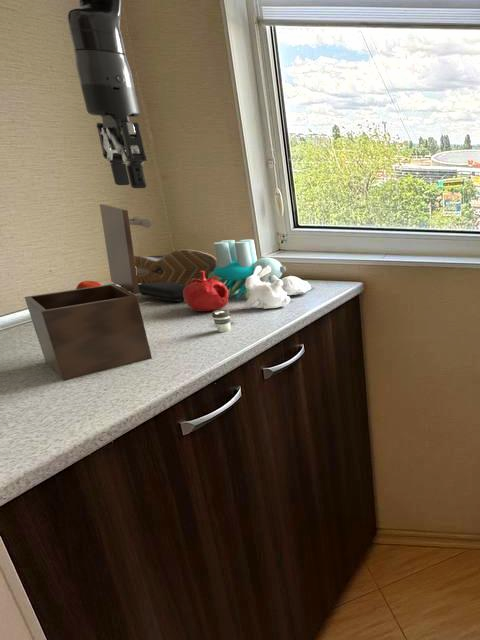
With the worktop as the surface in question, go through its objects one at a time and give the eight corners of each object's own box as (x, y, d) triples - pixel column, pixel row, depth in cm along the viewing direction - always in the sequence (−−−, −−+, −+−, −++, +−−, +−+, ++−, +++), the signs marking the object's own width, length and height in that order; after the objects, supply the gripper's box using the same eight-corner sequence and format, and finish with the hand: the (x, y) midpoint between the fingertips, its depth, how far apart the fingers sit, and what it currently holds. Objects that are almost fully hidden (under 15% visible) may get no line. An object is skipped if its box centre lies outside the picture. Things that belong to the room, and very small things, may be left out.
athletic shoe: (201, 247, 139) (231, 245, 150) (115, 254, 145) (149, 251, 156) (210, 288, 142) (238, 283, 153) (125, 293, 148) (158, 287, 159)
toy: (290, 237, 141) (297, 291, 146) (208, 238, 139) (218, 293, 144) (278, 243, 130) (286, 301, 135) (189, 245, 128) (200, 303, 133)
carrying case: (170, 279, 143) (209, 286, 138) (171, 290, 144) (210, 297, 139) (133, 283, 134) (172, 290, 129) (134, 295, 135) (173, 302, 129)
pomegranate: (185, 316, 120) (176, 277, 117) (188, 305, 129) (179, 268, 125) (231, 311, 124) (224, 273, 121) (231, 301, 133) (224, 265, 129)
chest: (64, 384, 87) (41, 311, 82) (46, 364, 95) (24, 296, 90) (152, 362, 97) (137, 295, 92) (130, 345, 104) (114, 283, 99)
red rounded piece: (87, 284, 118) (88, 316, 120) (112, 283, 124) (112, 313, 126) (65, 280, 119) (67, 311, 121) (91, 279, 125) (92, 309, 127)
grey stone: (286, 290, 143) (284, 272, 141) (314, 290, 143) (312, 273, 141) (272, 298, 135) (269, 279, 133) (302, 298, 135) (299, 280, 133)
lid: (122, 210, 87) (158, 210, 91) (99, 204, 94) (133, 205, 98) (133, 293, 91) (167, 290, 95) (111, 281, 99) (143, 279, 103)
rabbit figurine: (237, 309, 126) (230, 270, 122) (250, 301, 133) (243, 263, 129) (287, 309, 126) (281, 270, 122) (297, 301, 133) (291, 263, 129)
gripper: (68, 84, 88) (94, 185, 94) (93, 79, 79) (119, 190, 85) (119, 89, 93) (140, 183, 99) (148, 84, 84) (168, 188, 90)
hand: (130, 186), depth 92 cm, fingers open, 8 cm apart
